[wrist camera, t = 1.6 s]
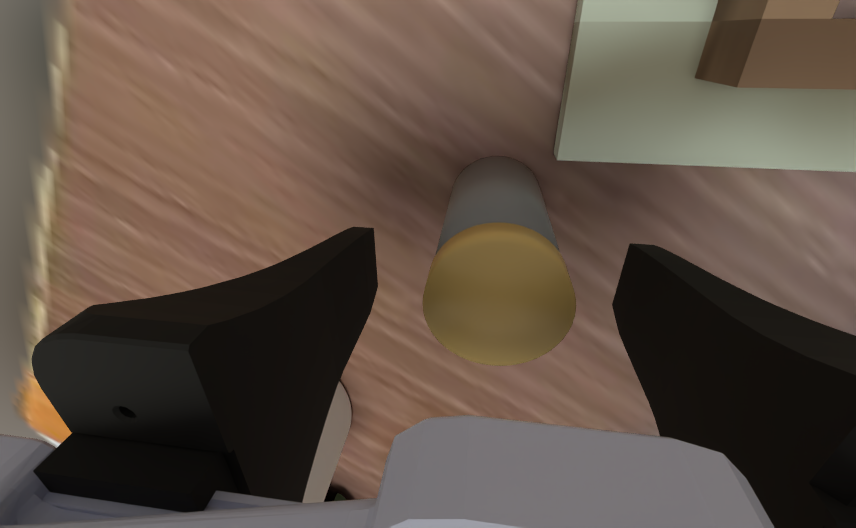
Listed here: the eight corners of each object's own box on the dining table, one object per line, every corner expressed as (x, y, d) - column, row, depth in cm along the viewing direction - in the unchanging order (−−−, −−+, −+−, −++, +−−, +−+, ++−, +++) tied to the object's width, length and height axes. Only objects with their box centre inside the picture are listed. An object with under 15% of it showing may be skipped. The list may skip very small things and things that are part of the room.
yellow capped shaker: (535, 243, 17) (561, 372, 11) (448, 238, 17) (422, 358, 11) (548, 156, 15) (590, 247, 9) (451, 153, 16) (422, 237, 9)
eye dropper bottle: (280, 412, 25) (132, 676, 15) (299, 353, 22) (132, 629, 12) (345, 437, 25) (245, 712, 15) (372, 382, 23) (271, 674, 12)
